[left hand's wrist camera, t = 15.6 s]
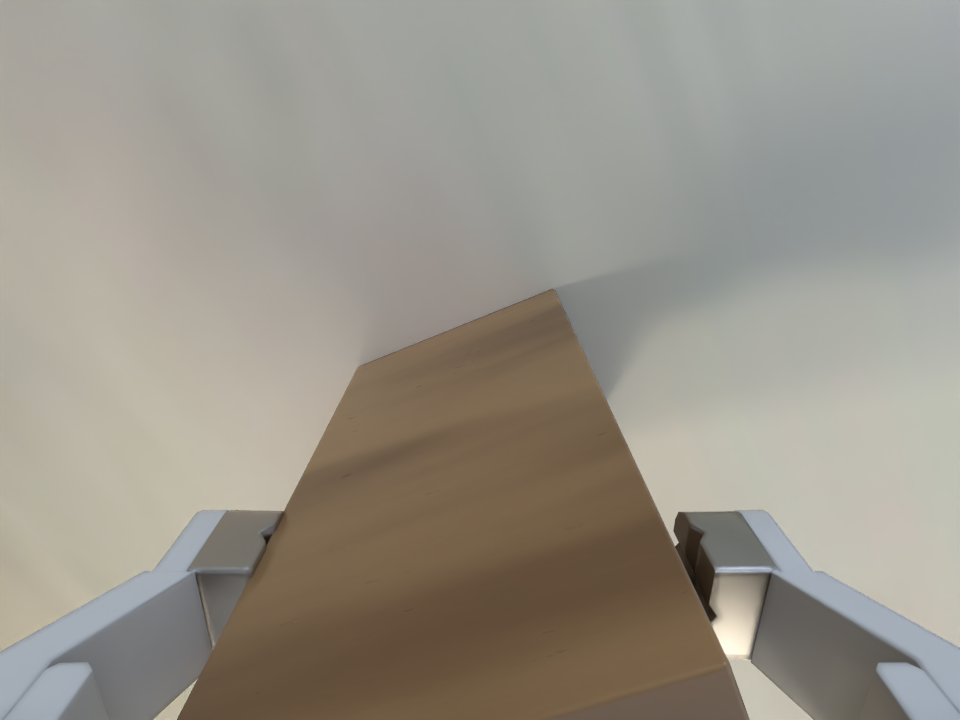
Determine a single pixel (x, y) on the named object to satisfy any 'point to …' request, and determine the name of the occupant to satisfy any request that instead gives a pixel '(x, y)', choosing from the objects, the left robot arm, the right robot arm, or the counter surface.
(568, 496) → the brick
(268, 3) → the counter surface
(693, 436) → the counter surface
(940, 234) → the counter surface
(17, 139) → the counter surface
